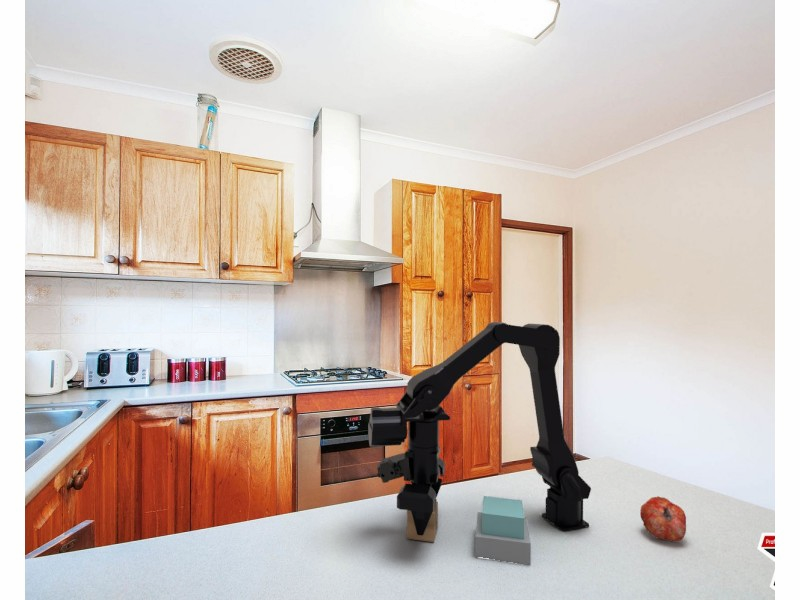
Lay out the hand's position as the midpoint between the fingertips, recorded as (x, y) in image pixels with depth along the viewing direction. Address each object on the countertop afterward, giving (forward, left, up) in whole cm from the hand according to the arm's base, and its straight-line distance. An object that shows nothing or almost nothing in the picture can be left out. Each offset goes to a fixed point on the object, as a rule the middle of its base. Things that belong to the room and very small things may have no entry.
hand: (422, 527), depth 79 cm
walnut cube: (0, 0, -1) cm, 1 cm away
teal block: (-12, +8, +2) cm, 15 cm away
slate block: (-12, +8, -2) cm, 15 cm away
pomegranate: (-43, +14, -2) cm, 45 cm away
